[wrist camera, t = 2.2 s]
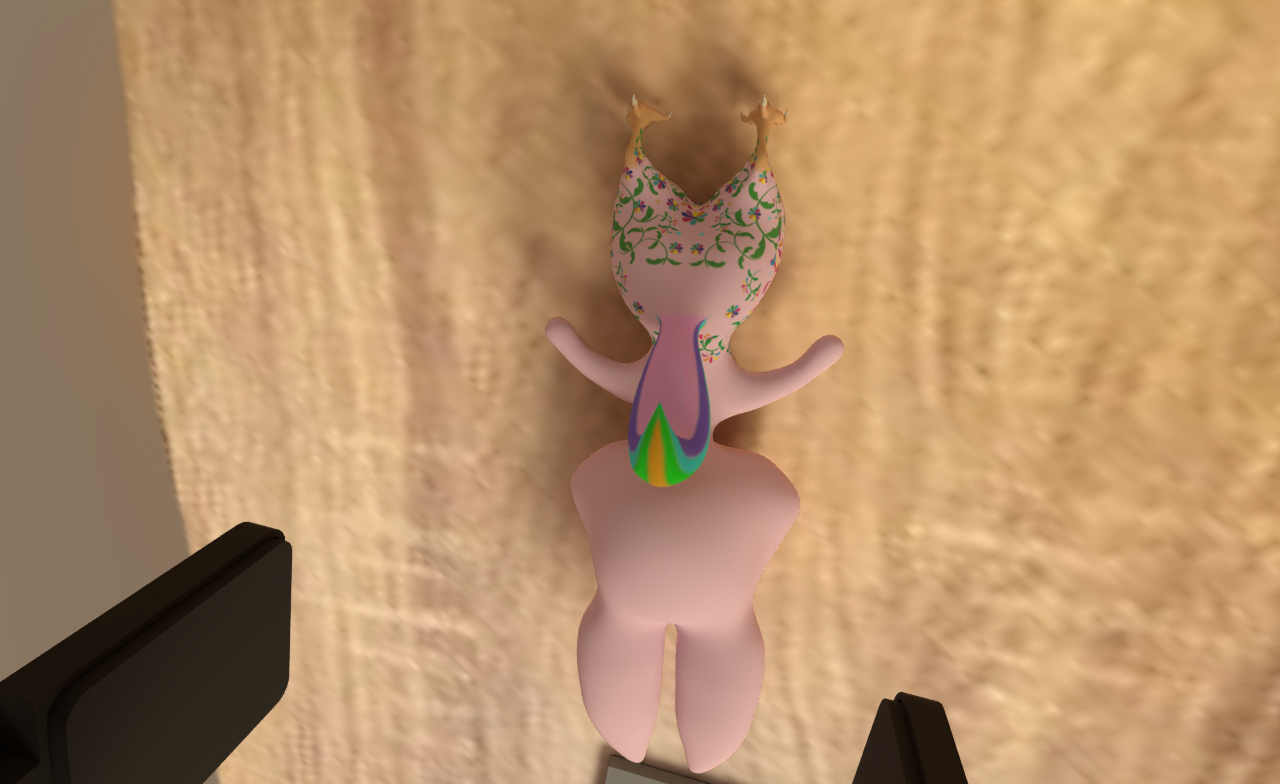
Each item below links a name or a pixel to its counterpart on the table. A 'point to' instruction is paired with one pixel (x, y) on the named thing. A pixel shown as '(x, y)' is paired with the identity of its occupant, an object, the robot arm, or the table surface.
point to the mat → (641, 774)
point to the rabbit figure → (684, 458)
